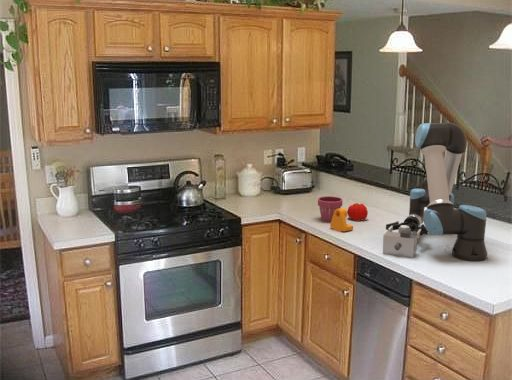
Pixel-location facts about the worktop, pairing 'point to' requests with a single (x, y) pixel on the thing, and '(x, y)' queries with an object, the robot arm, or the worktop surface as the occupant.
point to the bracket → (340, 220)
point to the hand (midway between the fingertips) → (403, 233)
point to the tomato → (357, 212)
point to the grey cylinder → (404, 228)
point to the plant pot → (328, 206)
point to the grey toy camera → (400, 243)
